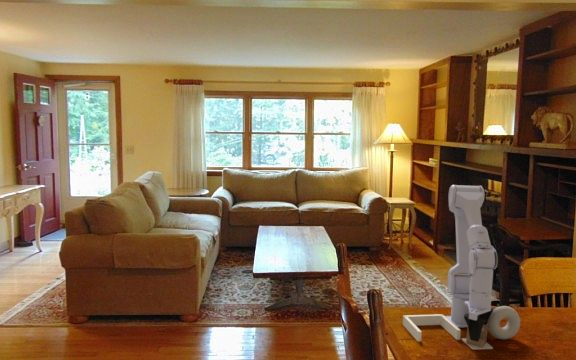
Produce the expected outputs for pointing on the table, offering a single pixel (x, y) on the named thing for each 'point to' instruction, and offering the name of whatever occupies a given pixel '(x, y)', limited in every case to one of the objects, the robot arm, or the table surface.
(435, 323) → the cream u-shaped arch
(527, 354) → the table surface
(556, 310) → the table surface
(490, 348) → the mat
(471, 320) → the robot arm
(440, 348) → the table surface
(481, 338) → the block
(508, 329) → the donut
